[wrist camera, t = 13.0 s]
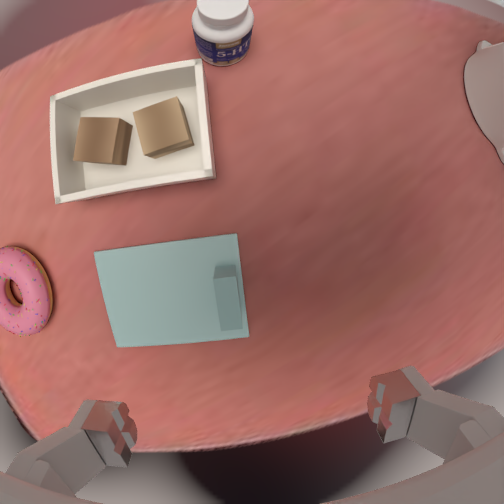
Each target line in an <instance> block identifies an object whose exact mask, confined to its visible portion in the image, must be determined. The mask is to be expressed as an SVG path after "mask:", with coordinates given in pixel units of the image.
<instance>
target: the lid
mask: <svg viewBox="0 0 504 504" xmlns="http://www.w3.org/2000/svg"><path fill="white" fill-rule="evenodd" d="M94 256H95V261H96V266H97V271H98V276H99V280H100V285H101V289H102V293H103V297H104V301H105V305H106V309H107V313H108V317H109V320H110V324H111V328H112V331H113V335H114V338H115V341H116V345H117V347H135V346H154V345H169V344H183V343H195V342H206V341H216V340H226V339H235V338H243V337H249V330H248V322H247V314H246V306H245V298H244V290H243V281H242V273H241V265H240V256H239V248H238V239H237V233H233V234H225V235H217V236H208V237H200V238H192V239H184V240H176V241H168V242H161V243H153V244H145V245H138V246H130V247H123V248H116V249H109V250H101V251H95V252H94Z"/></svg>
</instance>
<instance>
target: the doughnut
mask: <svg viewBox="0 0 504 504" xmlns="http://www.w3.org/2000/svg"><path fill="white" fill-rule="evenodd" d="M10 279H12V280H13V281H14V282H15V283H16V284H17V285H16V286H18V287H19V290H20V291H21V293H20V294H22V295H21V296H22V300H23V304H20V303H18V302H17V301H16V300H15V298H14V297H13V295H12V293H11V290H10ZM52 303H53V299H52V290H51V285H50V282H49V279H48V277H47V274H46V272H45V270H44V269H43V267H42V265H41V264H40V263H39V261H38V260H37V259H36V258H35V257H34V256H33V255H32V254H30V253H29V252H28V251H26V250H24V249H22V248H18V247H8V246H7V247H3V248H0V324H1V325H2V326H3V327H4V328H6V329H7V330H8V331H9V332H12V333H13V334H14V333H15V334H17V335H20V337H21V335H25V336H26V335H29V336H30V335H32V334H36V333H38V332H40V331H41V330H42V329H43V328H44V326H45V325H46V323H47V321H48V319H49V317H50V315H51V311H52Z"/></svg>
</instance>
